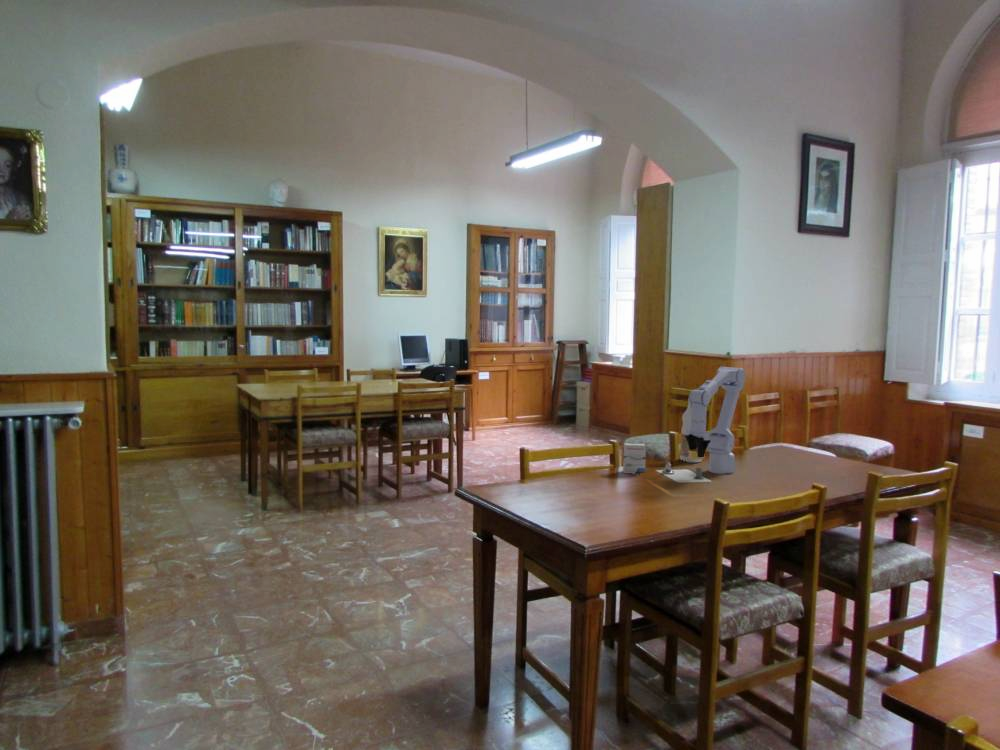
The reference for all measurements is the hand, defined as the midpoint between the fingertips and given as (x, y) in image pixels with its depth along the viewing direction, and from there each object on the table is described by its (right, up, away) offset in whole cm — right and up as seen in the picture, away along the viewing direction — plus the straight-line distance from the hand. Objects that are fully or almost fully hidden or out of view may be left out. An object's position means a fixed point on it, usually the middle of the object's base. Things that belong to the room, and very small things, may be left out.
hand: (696, 455), depth 258 cm
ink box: (-22, -9, +12) cm, 27 cm away
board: (-4, -10, +4) cm, 11 cm away
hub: (-9, -9, +8) cm, 15 cm away
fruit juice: (+8, -7, +37) cm, 39 cm away
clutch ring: (0, -1, 0) cm, 1 cm away
